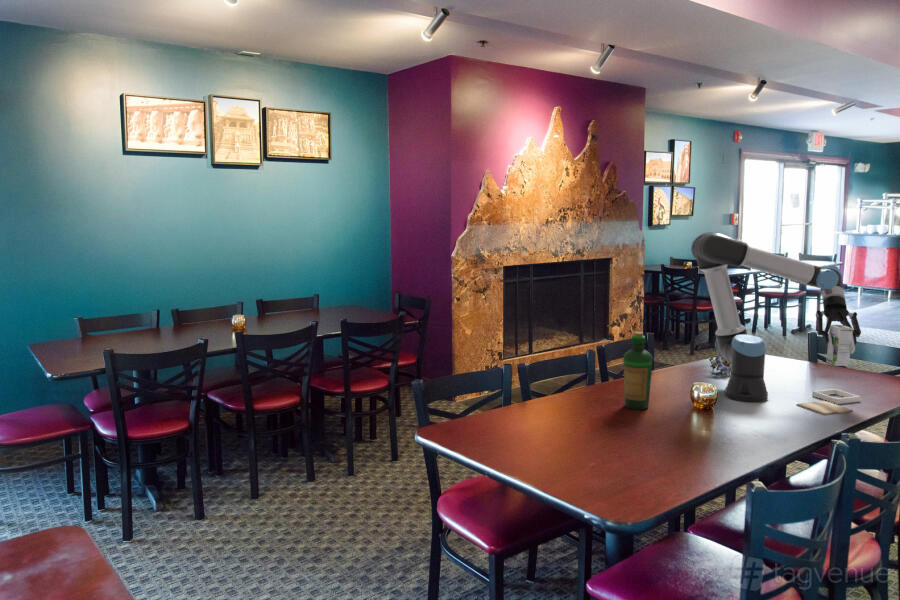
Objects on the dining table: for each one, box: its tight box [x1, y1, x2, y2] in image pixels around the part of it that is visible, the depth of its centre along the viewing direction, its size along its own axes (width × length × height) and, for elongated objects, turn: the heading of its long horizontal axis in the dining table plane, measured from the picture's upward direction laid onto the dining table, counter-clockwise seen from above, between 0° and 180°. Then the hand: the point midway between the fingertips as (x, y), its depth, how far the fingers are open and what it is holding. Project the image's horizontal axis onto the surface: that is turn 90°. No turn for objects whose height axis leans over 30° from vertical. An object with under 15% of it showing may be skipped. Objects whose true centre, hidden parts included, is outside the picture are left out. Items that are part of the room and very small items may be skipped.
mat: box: [796, 400, 854, 416], centre depth 232 cm, size 13×12×1 cm
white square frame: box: [811, 388, 862, 405], centre depth 243 cm, size 11×11×2 cm
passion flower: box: [709, 351, 731, 377], centre depth 283 cm, size 11×11×12 cm
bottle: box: [622, 331, 654, 411], centre depth 235 cm, size 11×11×28 cm
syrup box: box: [825, 324, 854, 367], centre depth 238 cm, size 6×6×14 cm
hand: (841, 350), depth 234 cm, fingers closed on syrup box, 6 cm apart
